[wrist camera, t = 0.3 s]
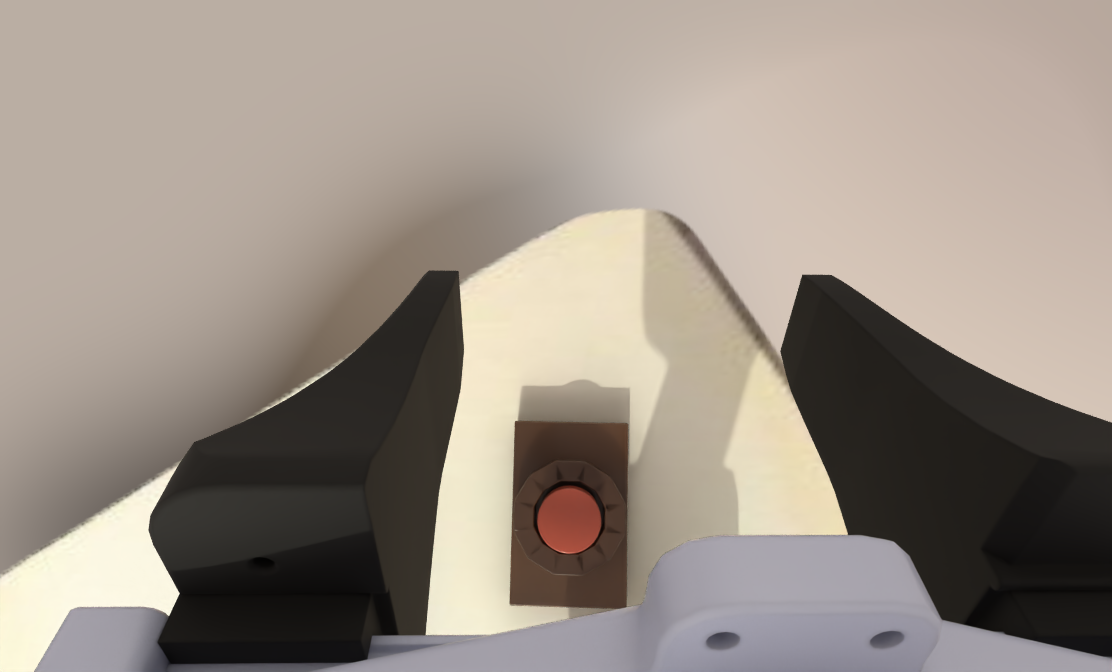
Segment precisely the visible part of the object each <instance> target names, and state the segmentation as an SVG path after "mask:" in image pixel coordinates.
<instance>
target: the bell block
mask: <svg viewBox="0 0 1112 672" xmlns="http://www.w3.org/2000/svg"><path fill="white" fill-rule="evenodd" d="M568 485H571V486H577V487H580V488H582V489H584V490H586V491H587V492H589V493H590V494H591V495H592V496H593V497H594V499H595V500H596V502H597V504H598V507H599V510H600V514H601V528H600V532H599V534H598V536H597V538H596V540H595V541H594V542H593V543H592V545H590V546H589V547H588V548H587V549H585V550H583V551H581V552H578V553H572V554H567V553H561V552H558V551H556V550H554V549H552V548H551V547H550V546H548V545H547V544H546V542H545V541H544V540H543V538H542V537H541V535H540V532H539V529H538V523H537V518H538V512H539V509H540V506H541V504H542V502H543V500H544V499H545V497H546V496H547V495H548V494H549V493H550V492H551V491H553V490H554V489H556V488H558V487H562V486H568ZM627 492H628V424H627V423H590V422H545V421H515V437H514V471H513V506H512V540H511V574H510V605H511V606H544V607H577V608H610V609H621V608H625V607H626V605H627Z"/></svg>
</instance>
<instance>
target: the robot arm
mask: <svg viewBox="0 0 1112 672" xmlns="http://www.w3.org/2000/svg"><path fill="white" fill-rule="evenodd" d="M780 352H781V356H782V360H783V364H784V368H785V372H786V375H787V379H788V382H789V386H790V389H791V392H792V394H793V397H794V399H795V402H796V404H797V406H798V408H799V411H800V413H801V415H802V418H803V420H804V422H805V424H806V427H807V429H808V431H809V433H810V435H811V438H812V440H813V442H814V444H815V447H816V449H817V451H818V453H819V455H820V458H821V460H822V462H823V464H824V466H825V469H826V471H827V473H828V476H829V478H830V481H831V483H832V486H833V488H834V491H835V494H836V497H837V500H838V503H839V507H840V510H841V513H842V516H843V519H844V523H845V526H846V529H847V532H848V535H718V536H712V537H706V538H699V539H693V540H689V541H687V542H685V543H683V544H681V545H679V546H677V547H676V548H674V549H672V550H670V551H668V552H666V553H665V554H664V555H662V556H661V558H660V559H659V561H658V562H657V564H656V565H655V567H654V568H653V570H652V572H651V573H650V575H649V578H648V583H647V589H646V594H645V597H644V600H643V602H642V604H640V605H635V606H630V607H625V608H621V609H616V610H611V611H606V612H601V613H596V614H591V615H586V616H581V617H576V618H571V619H566V620H561V621H556V622H551V623H546V624H541V625H536V626H532V627H527V628H522V629H517V630H512V631H507V632H502V633H497V634H492V635H426V622H427V610H428V599H429V587H430V575H431V565H432V554H433V544H434V534H435V524H436V515H437V506H438V496H439V489H440V483H441V477H442V472H443V467H444V463H445V458H446V453H447V449H448V444H449V440H450V435H451V431H452V426H453V422H454V417H455V413H456V408H457V403H458V399H459V394H460V389H461V378H462V367H463V355H464V343H463V329H462V314H461V300H460V286H459V272H458V271H428V272H427V273H426V274H425V275H424V276H423V277H422V279H421V280H420V281H419V282H418V284H417V285H416V286H415V287H414V289H413V290H412V291H411V293H410V294H409V295H408V296H407V297H406V298H405V300H404V301H403V302H402V303H401V305H400V306H399V307H398V308H397V309H396V310H395V311H394V312H393V314H392V315H391V316H390V317H389V318H388V319H387V320H386V321H385V322H384V323H383V325H382V326H381V327H380V328H379V329H378V330H377V331H376V332H375V333H374V334H373V335H371V336H370V337H369V338H368V339H367V340H366V341H365V342H364V343H363V344H362V345H361V346H360V347H359V348H358V349H357V350H356V351H355V352H354V353H352V354H351V355H350V356H349V357H348V358H347V359H345V360H344V361H343V362H342V363H340V364H339V365H338V366H336V367H335V368H334V369H333V370H331V371H330V372H328V373H327V374H326V375H324V376H323V377H321V378H320V379H318V380H317V381H315V382H313V383H312V384H310V385H309V386H307V387H306V388H304V389H303V390H301V391H300V392H298V393H297V394H295V395H293V396H292V397H290V398H288V399H287V400H285V401H283V402H281V403H279V404H278V405H276V406H274V407H272V408H270V409H268V410H266V411H264V412H262V413H260V414H258V415H256V416H255V417H253V418H250V419H248V420H246V421H244V422H242V423H240V424H238V425H235V426H233V427H230V428H228V429H225V430H223V431H221V432H218V433H216V434H214V435H211V436H209V437H207V438H204V439H202V440H199V441H196V442H194V443H193V445H192V446H191V448H190V449H189V451H188V452H187V454H186V455H185V457H184V458H183V459H182V461H181V462H180V464H179V465H178V467H177V469H176V471H175V472H174V474H173V476H172V477H171V479H170V481H169V483H168V485H167V486H166V488H165V490H164V492H163V494H162V496H161V497H160V499H159V501H158V503H157V505H156V506H155V508H154V510H153V512H152V514H151V516H150V523H149V533H150V536H151V539H152V542H153V545H154V547H155V549H156V551H157V552H158V554H159V556H160V558H161V560H162V562H163V564H164V565H165V567H166V569H167V571H168V573H169V575H170V576H171V578H172V580H173V582H174V584H175V586H176V588H177V589H178V591H179V593H180V594H179V596H178V598H177V601H176V603H175V605H174V607H173V609H172V611H171V614H170V616H168V615H167V614H166V613H164V612H162V611H159V610H157V609H155V608H147V607H78V608H75V609H72V610H71V611H70V612H69V613H68V615H67V617H66V618H65V620H64V622H63V624H62V625H61V627H60V629H59V630H58V632H57V634H56V635H55V637H54V639H53V640H52V642H51V644H50V646H49V647H48V649H47V651H46V652H45V654H44V656H43V657H42V659H41V661H40V662H39V664H38V666H37V668H36V669H35V671H34V672H1112V423H1111V422H1108V421H1105V420H1102V419H1099V418H1096V417H1093V416H1091V415H1088V414H1085V413H1082V412H1079V411H1076V410H1073V409H1071V408H1068V407H1065V406H1063V405H1060V404H1058V403H1055V402H1053V401H1050V400H1047V399H1045V398H1043V397H1041V396H1038V395H1036V394H1034V393H1031V392H1029V391H1026V390H1024V389H1022V388H1019V387H1017V386H1015V385H1013V384H1011V383H1008V382H1006V381H1004V380H1002V379H1000V378H998V377H996V376H993V375H992V374H990V373H988V372H986V371H984V370H982V369H980V368H978V367H976V366H974V365H972V364H970V363H968V362H966V361H965V360H963V359H961V358H959V357H957V356H955V355H954V354H952V353H950V352H949V351H947V350H945V349H944V348H942V347H940V346H939V345H937V344H935V343H934V342H932V341H931V340H929V339H927V338H926V337H924V336H922V335H921V334H919V333H918V332H916V331H915V330H913V329H911V328H910V327H909V326H907V325H906V324H904V323H903V322H901V321H900V320H898V319H897V318H895V317H894V316H892V315H891V314H889V313H888V312H886V311H885V310H884V309H882V308H881V307H879V306H878V305H876V304H875V303H874V302H872V301H871V300H869V299H868V298H866V297H865V296H863V295H862V294H861V293H859V292H858V291H856V290H854V289H853V288H852V287H850V286H849V285H847V284H846V283H844V282H842V281H841V280H839V279H837V278H835V277H834V276H832V275H802V278H801V281H800V285H799V288H798V292H797V296H796V299H795V302H794V306H793V310H792V313H791V316H790V320H789V323H788V327H787V330H786V334H785V337H784V341H783V344H782V347H781V351H780Z"/></svg>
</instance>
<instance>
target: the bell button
mask: <svg viewBox="0 0 1112 672" xmlns="http://www.w3.org/2000/svg"><path fill="white" fill-rule="evenodd" d="M537 523H538V529H539V532H540V535H541V537H542V538H543V540H544V541H545V542H546V544H547V545H548V546H550V547H551V548H552V549H554V550H556V551H558V552H561V553H567V554H572V553H578V552H581V551H583V550H585V549H587V548H588V547H589V546H590V545H592V543H593V542H594V541H595V540H596V538H597V536H598V534H599V532H600V528H601V514H600V510H599V507H598V504H597V502H596V500H595V499H594V497H593V496H592V495H591V494H590V493H589V492H587V491H586V490H584V489H582V488H580V487H577V486H571V485H568V486H562V487H558V488H556V489H554V490H553V491H551V492H550V493H549V494H548V495H547V496H546V497H545V499H544V500H543V502H542V504H541V506H540V509H539V512H538V518H537Z"/></svg>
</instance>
